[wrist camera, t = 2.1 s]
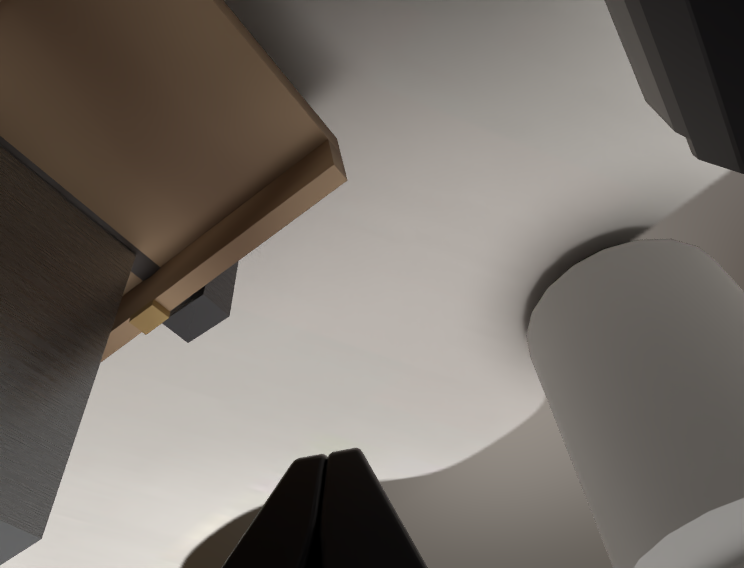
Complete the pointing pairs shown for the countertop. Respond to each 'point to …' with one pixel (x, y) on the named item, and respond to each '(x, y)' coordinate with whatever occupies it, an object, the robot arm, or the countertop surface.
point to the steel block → (47, 339)
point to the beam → (161, 136)
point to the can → (650, 399)
